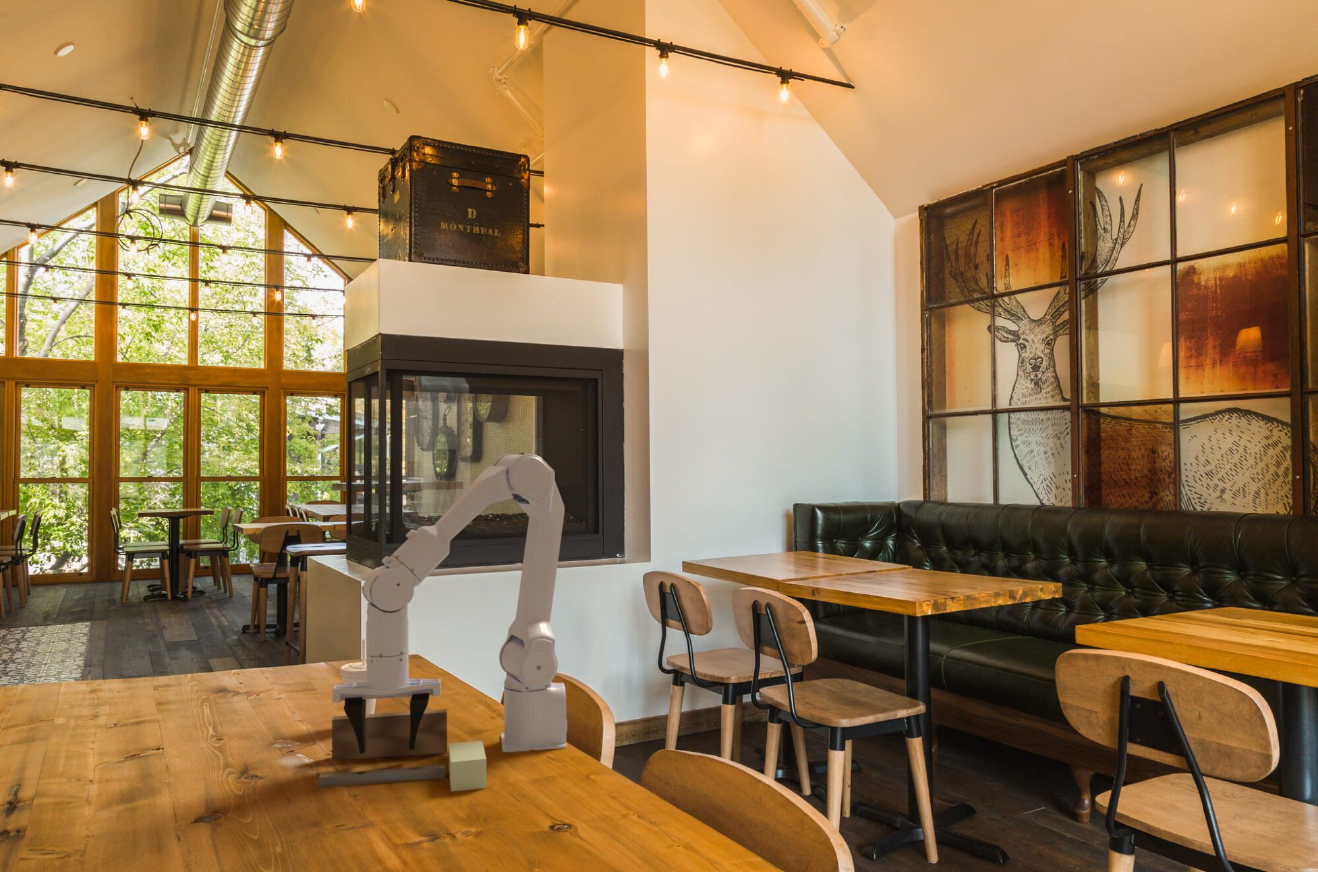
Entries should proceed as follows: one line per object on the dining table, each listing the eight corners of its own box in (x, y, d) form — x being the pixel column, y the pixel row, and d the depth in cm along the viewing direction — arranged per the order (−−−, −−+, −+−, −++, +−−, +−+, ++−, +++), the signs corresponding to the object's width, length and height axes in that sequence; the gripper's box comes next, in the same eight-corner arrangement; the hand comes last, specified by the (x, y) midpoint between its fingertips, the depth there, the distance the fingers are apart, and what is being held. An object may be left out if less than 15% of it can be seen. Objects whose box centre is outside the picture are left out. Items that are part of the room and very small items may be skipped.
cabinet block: (482, 773, 122) (482, 740, 122) (486, 793, 115) (486, 758, 115) (448, 776, 121) (448, 743, 121) (451, 797, 114) (450, 762, 114)
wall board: (447, 749, 131) (447, 709, 131) (446, 753, 130) (446, 712, 130) (333, 758, 128) (333, 716, 128) (332, 761, 126) (332, 719, 127)
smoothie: (368, 733, 139) (368, 644, 139) (331, 731, 140) (331, 642, 141) (388, 721, 145) (388, 635, 146) (353, 719, 147) (353, 634, 147)
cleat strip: (444, 777, 120) (444, 764, 120) (444, 781, 119) (444, 767, 119) (320, 788, 117) (320, 774, 117) (318, 791, 116) (318, 777, 116)
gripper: (441, 643, 130) (441, 736, 130) (337, 649, 127) (337, 743, 127) (439, 654, 123) (439, 752, 123) (330, 660, 120) (330, 760, 120)
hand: (387, 749), depth 125 cm, fingers open, 6 cm apart
